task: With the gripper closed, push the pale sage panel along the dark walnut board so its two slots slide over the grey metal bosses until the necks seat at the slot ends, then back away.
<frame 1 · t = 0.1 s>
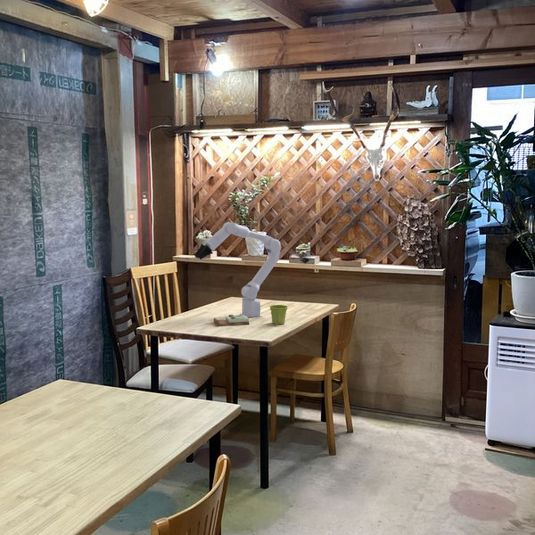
hand: (197, 257, 316), 32 cm above the table, tool tilted 50°, fingers open, 7 cm apart
plant pot: (278, 323, 309), on the table
board: (231, 323, 308), on the table
panel: (237, 318, 308), point 2 cm above the table, slide at 0.0 cm
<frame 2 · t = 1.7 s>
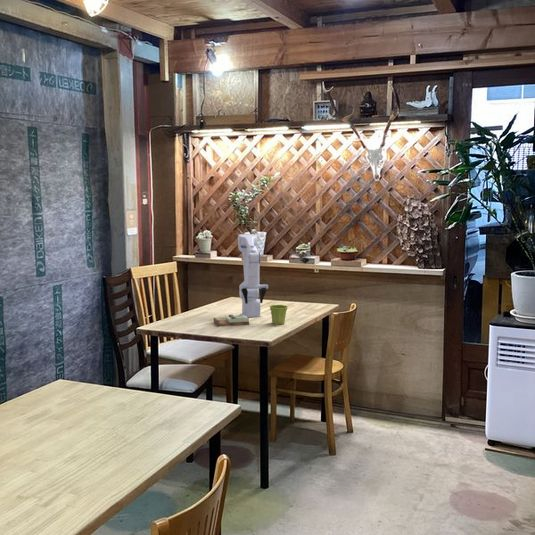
hand: (253, 303, 310), 10 cm above the table, tool pointing down, fingers open, 7 cm apart
nothing on the table moved.
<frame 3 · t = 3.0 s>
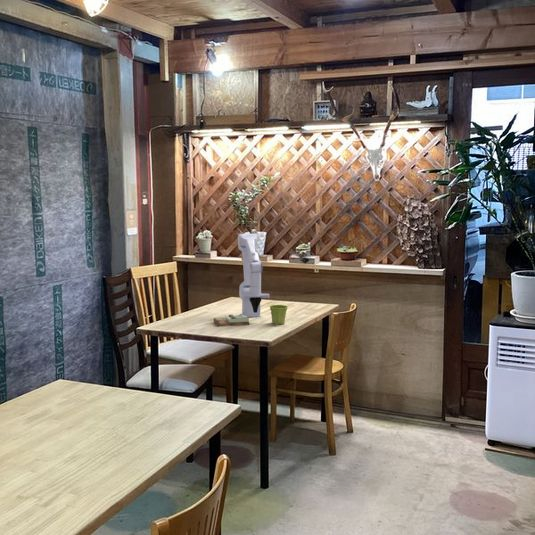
hand: (255, 312, 311), 5 cm above the table, tool pointing down, fingers closed
nothing on the table moved.
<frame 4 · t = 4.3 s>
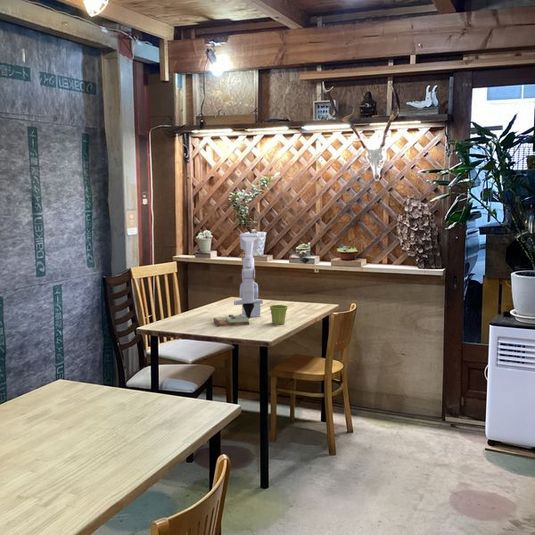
hand: (248, 318, 310), 2 cm above the table, tool pointing down, fingers closed
panel: (236, 318, 308), point 2 cm above the table, slide at 0.1 cm, touching gripper
everything else where it was.
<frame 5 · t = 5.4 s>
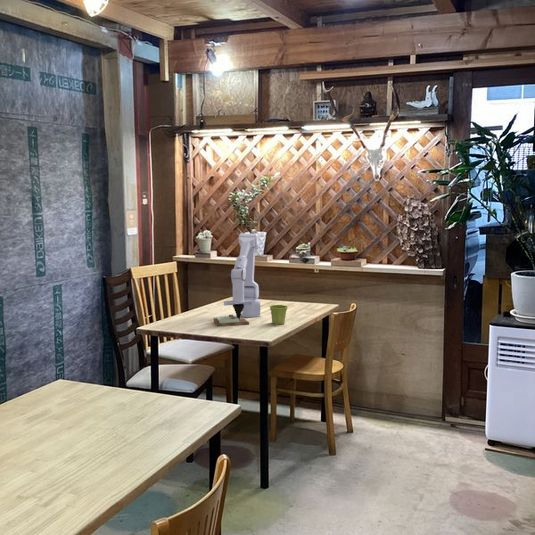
hand: (238, 319, 308), 2 cm above the table, tool pointing down, fingers closed
panel: (227, 319, 307), point 2 cm above the table, slide at 5.1 cm, touching gripper
everything else where it was.
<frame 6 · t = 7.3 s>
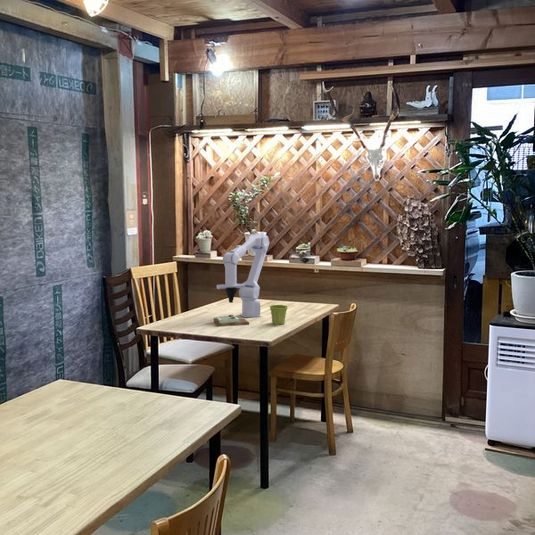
hand: (230, 302, 315), 9 cm above the table, tool pointing down, fingers closed
panel: (227, 319, 307), point 2 cm above the table, slide at 5.0 cm
everything else where it was.
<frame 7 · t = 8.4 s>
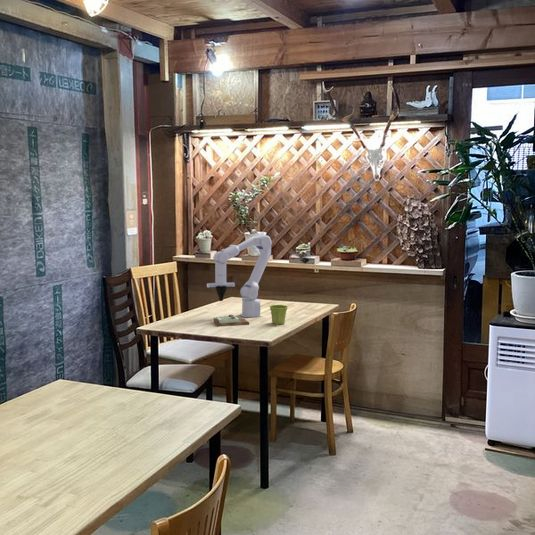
hand: (220, 300, 319), 9 cm above the table, tool pointing down, fingers closed
nothing on the table moved.
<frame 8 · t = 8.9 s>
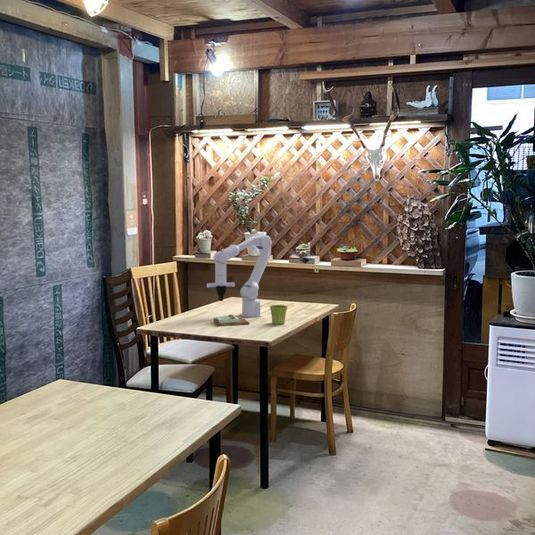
hand: (220, 300, 319), 9 cm above the table, tool pointing down, fingers closed
nothing on the table moved.
at the end: panel slide at 5.0 cm; panel touching nothing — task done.
